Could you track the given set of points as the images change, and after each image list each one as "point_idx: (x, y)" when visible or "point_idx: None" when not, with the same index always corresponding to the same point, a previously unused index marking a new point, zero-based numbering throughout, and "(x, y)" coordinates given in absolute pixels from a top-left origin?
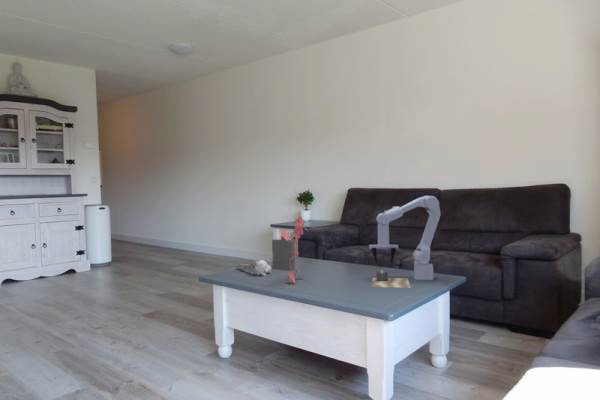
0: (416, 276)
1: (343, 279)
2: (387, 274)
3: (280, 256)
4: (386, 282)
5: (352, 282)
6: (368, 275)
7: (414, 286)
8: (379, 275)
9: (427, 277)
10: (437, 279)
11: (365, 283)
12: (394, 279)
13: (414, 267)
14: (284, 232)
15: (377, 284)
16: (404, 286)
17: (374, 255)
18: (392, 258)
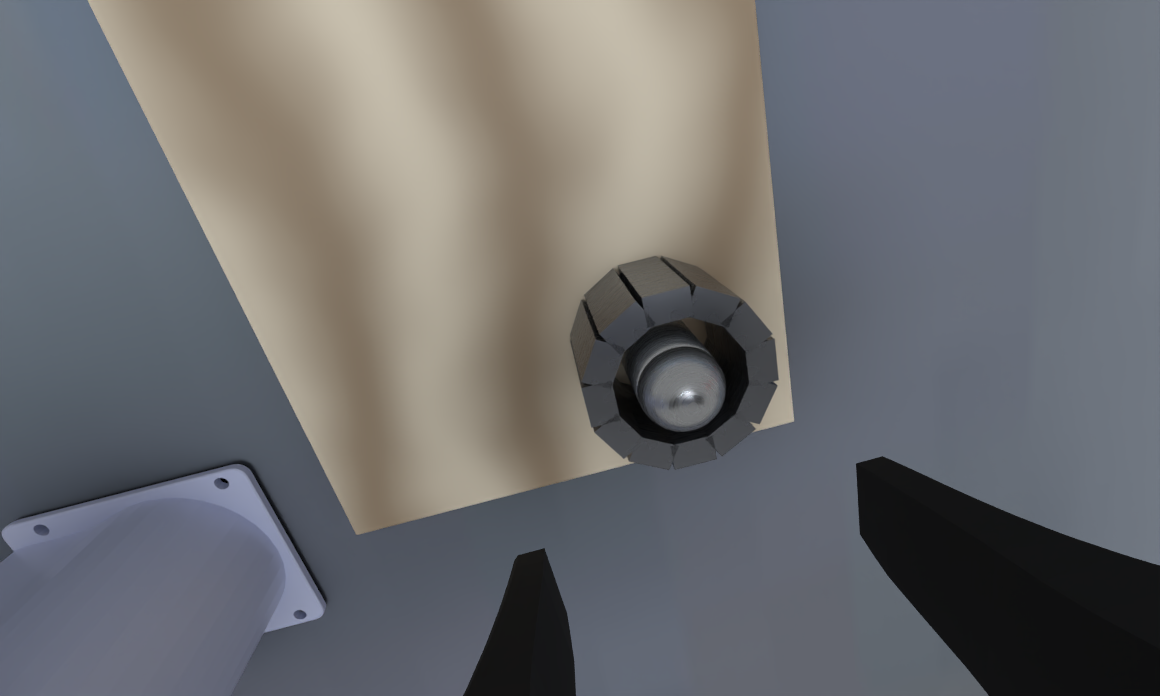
0: (200, 544)
1: (1136, 301)
2: (582, 359)
3: None
4: (563, 207)
5: (1032, 171)
6: (844, 576)
7: (140, 219)
8: (703, 281)
9: (48, 564)
10: None
11: (856, 171)
12: (499, 424)
13: (173, 684)
14: None
15: (673, 13)
16: (203, 5)
17: (1099, 557)
18: (497, 640)
